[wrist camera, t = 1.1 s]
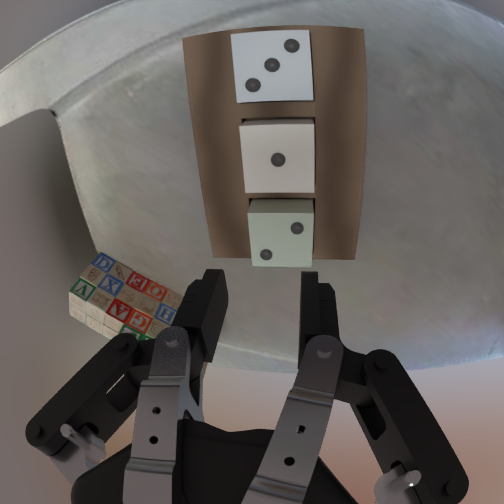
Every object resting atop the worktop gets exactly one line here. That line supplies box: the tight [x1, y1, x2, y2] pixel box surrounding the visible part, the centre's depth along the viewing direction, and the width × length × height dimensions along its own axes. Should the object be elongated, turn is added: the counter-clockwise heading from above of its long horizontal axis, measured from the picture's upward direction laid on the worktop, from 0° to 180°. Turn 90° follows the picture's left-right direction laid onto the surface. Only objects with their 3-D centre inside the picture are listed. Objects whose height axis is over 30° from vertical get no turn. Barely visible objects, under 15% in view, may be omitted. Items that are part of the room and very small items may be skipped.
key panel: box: [182, 25, 367, 260], centre depth 26 cm, size 16×24×3 cm, turn 4°
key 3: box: [231, 30, 313, 103], centre depth 20 cm, size 6×6×3 cm
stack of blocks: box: [69, 253, 208, 378], centre depth 38 cm, size 21×6×12 cm, turn 62°
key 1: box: [239, 119, 314, 193], centre depth 24 cm, size 6×6×3 cm
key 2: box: [247, 199, 314, 267], centre depth 28 cm, size 6×6×3 cm
